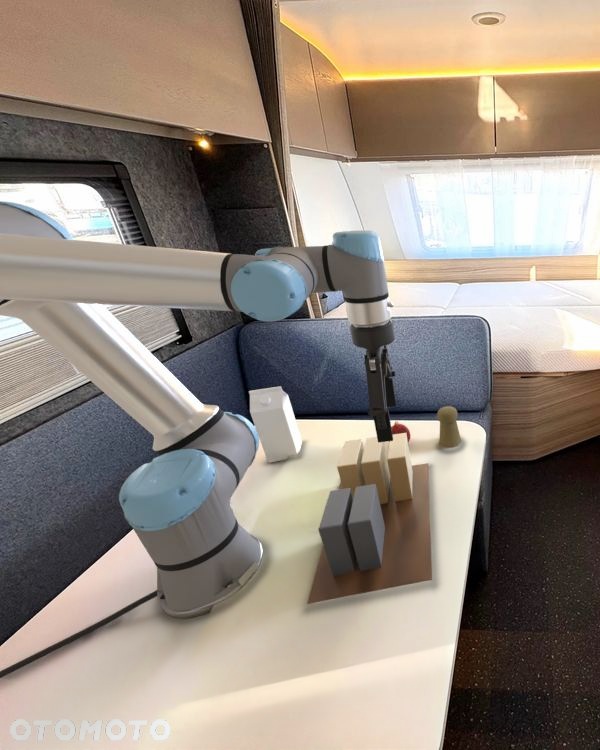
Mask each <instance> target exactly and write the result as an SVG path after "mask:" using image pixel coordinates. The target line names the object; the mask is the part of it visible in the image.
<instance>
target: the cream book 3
mask: <svg viewBox="0 0 600 750" xmlns="http://www.w3.org/2000/svg"><path fill="white" fill-rule="evenodd" d="M388 443H389V444H388V451H387V452H388V453H387V462H388V467H389V472H390V477H391V482H392V487H393V492H394V497H395V501H401V500H407V499H412V481H413V470H412V466H413V465H412V460H411V459H412V458H411V453H410V447H409V442H408V440H407V434H406V433H401V434H393V441H390V442H389V441H388Z"/></svg>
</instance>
